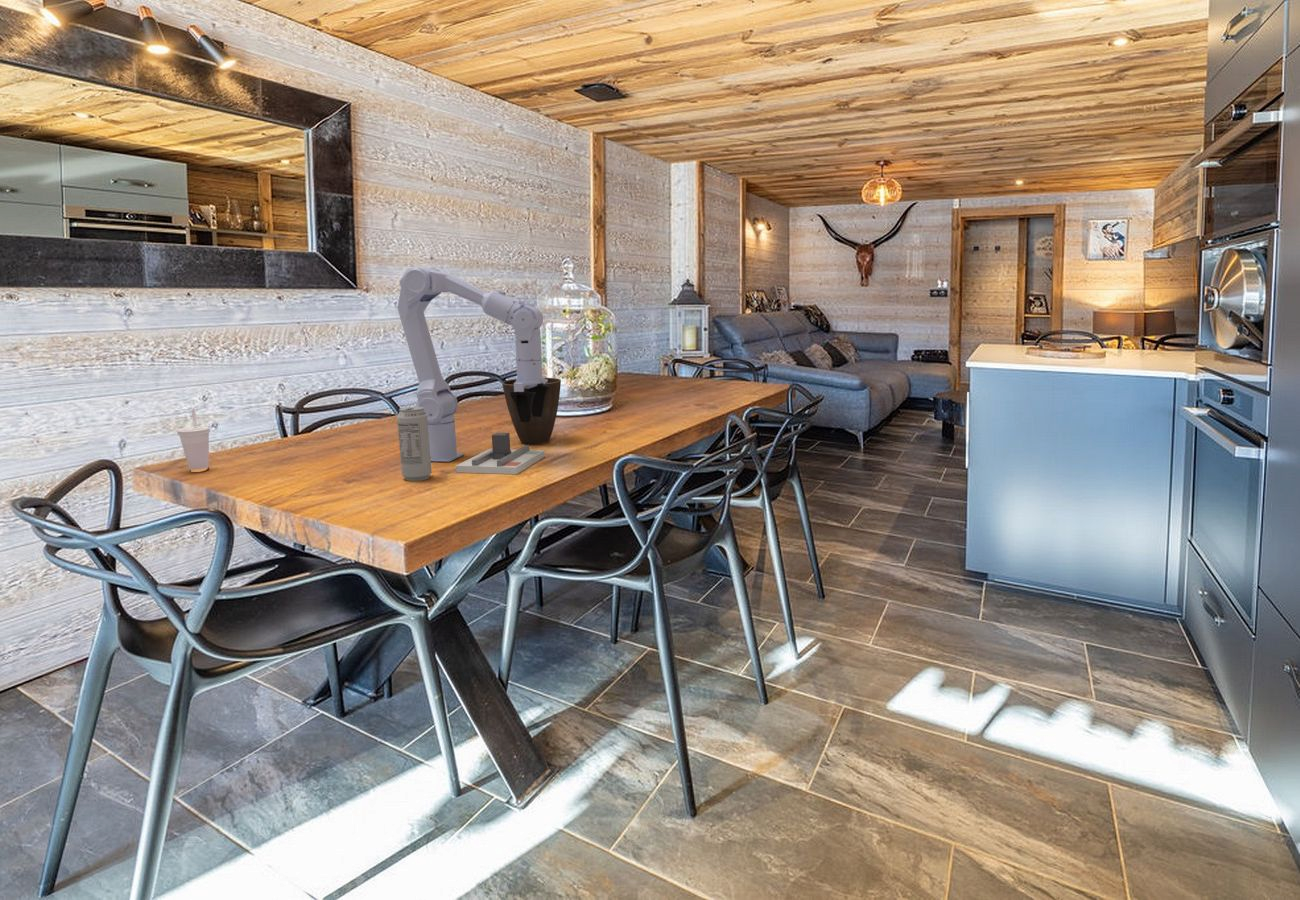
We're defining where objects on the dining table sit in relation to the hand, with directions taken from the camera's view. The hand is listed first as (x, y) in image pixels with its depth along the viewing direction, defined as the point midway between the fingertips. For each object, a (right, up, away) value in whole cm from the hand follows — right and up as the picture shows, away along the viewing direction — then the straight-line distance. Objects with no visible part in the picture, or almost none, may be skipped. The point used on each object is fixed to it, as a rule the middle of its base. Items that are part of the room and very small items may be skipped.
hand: (531, 419), depth 176 cm
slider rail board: (-6, -10, -2) cm, 12 cm away
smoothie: (-75, -12, -3) cm, 76 cm away
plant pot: (-3, -5, +23) cm, 24 cm away
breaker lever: (-6, -9, -2) cm, 11 cm away
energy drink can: (-22, -13, -14) cm, 29 cm away
